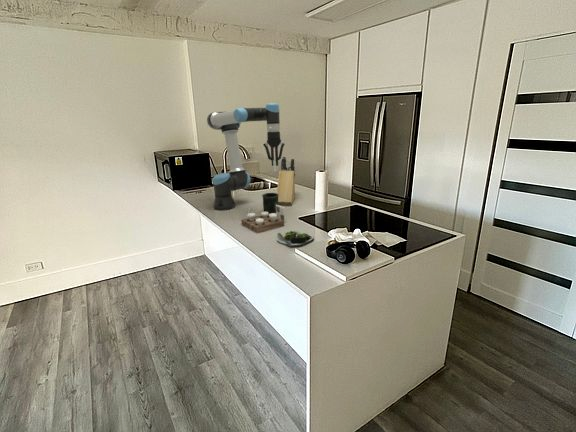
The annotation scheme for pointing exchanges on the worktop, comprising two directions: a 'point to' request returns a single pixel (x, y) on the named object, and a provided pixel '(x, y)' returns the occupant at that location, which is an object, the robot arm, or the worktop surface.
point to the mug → (270, 202)
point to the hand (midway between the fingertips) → (275, 171)
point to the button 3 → (264, 214)
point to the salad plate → (295, 238)
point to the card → (280, 213)
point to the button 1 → (251, 217)
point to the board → (266, 225)
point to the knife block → (286, 183)
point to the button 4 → (273, 217)
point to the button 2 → (259, 221)
